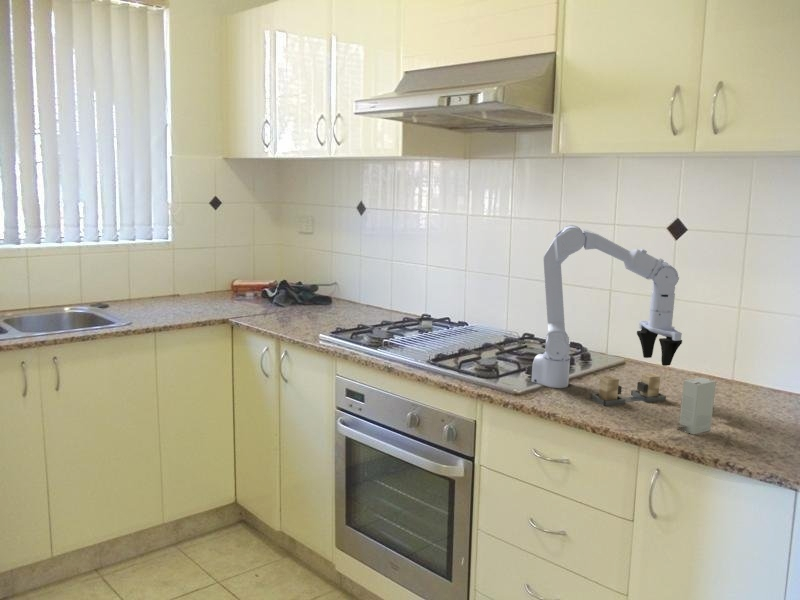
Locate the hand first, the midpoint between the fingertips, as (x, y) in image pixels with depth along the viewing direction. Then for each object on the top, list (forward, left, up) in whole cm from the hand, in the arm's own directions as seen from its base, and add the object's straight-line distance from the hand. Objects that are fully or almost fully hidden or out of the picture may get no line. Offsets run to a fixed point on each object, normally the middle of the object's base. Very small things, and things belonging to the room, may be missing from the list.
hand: (656, 361), depth 185 cm
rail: (-2, -11, -10) cm, 15 cm away
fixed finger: (-5, -16, -8) cm, 19 cm away
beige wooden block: (+1, -6, -8) cm, 10 cm away
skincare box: (+17, -17, -10) cm, 26 cm away
